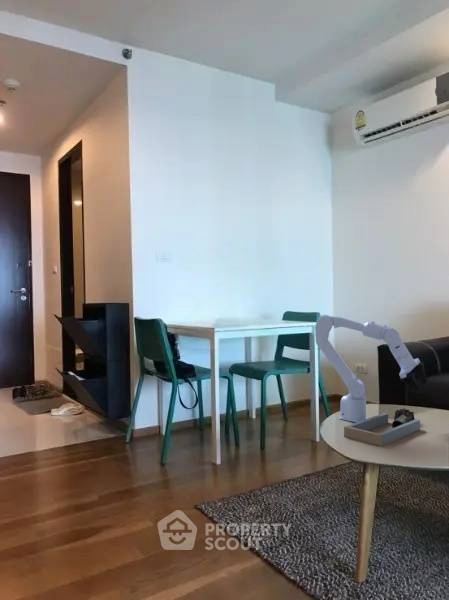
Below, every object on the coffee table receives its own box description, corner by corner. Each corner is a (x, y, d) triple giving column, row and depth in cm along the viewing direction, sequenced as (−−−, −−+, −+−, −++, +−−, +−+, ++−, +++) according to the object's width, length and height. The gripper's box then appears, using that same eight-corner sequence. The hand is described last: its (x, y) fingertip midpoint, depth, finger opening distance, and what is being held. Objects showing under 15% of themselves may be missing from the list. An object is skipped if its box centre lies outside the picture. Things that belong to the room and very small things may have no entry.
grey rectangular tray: (344, 436, 164) (344, 426, 164) (384, 421, 183) (384, 412, 183) (380, 446, 154) (380, 435, 154) (419, 429, 173) (419, 420, 173)
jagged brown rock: (405, 433, 169) (405, 418, 169) (386, 431, 172) (386, 415, 172) (416, 422, 183) (416, 408, 183) (398, 420, 187) (398, 405, 187)
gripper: (403, 359, 174) (423, 392, 172) (418, 345, 184) (437, 376, 182) (388, 365, 179) (407, 397, 178) (403, 351, 189) (421, 381, 187)
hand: (421, 386), depth 180 cm, fingers open, 7 cm apart
